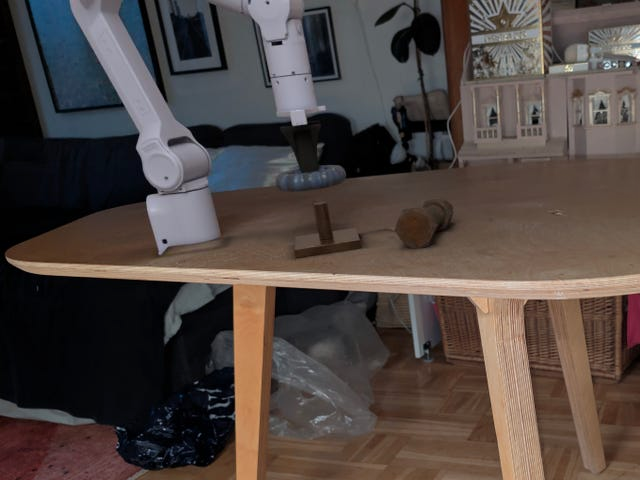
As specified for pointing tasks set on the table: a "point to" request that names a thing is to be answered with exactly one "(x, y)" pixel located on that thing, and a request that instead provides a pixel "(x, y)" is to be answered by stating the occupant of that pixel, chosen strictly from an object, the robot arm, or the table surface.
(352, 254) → the table surface
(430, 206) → the bolt
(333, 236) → the stand
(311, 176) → the ring
